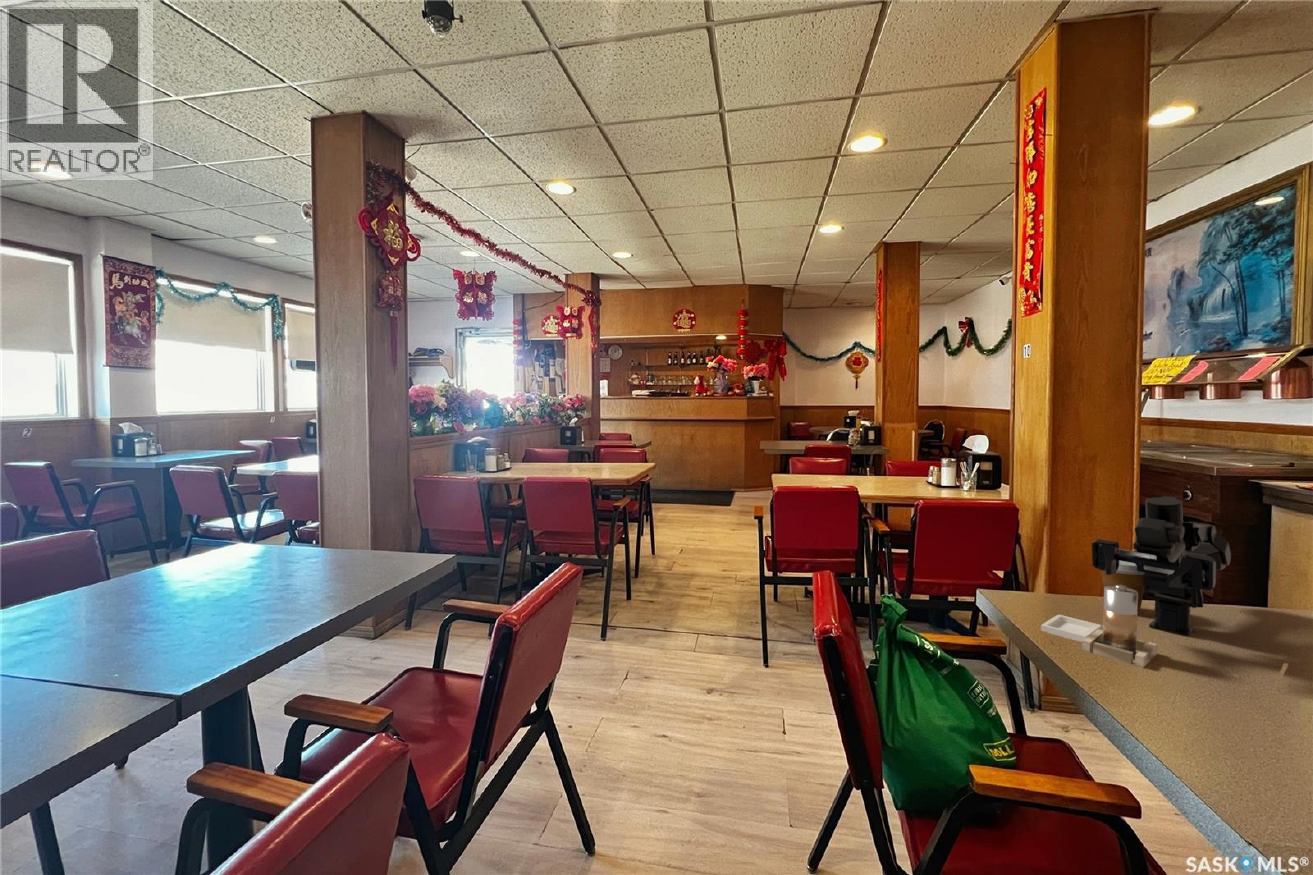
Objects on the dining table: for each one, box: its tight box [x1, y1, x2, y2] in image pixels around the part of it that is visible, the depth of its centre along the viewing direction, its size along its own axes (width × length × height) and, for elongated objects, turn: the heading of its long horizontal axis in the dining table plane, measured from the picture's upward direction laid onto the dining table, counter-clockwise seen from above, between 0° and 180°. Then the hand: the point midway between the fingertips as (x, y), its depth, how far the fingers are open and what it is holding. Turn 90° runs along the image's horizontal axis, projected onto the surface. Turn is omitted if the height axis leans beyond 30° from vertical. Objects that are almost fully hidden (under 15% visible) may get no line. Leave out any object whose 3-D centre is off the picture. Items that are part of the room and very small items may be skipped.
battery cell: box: [1102, 585, 1139, 658], centre depth 109 cm, size 5×5×13 cm
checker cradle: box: [1081, 629, 1158, 669], centre depth 109 cm, size 9×9×2 cm
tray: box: [1040, 614, 1103, 643], centre depth 120 cm, size 10×8×2 cm
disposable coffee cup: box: [1100, 561, 1145, 614], centre depth 133 cm, size 10×10×12 cm
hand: (1136, 578), depth 107 cm, fingers open, 9 cm apart
